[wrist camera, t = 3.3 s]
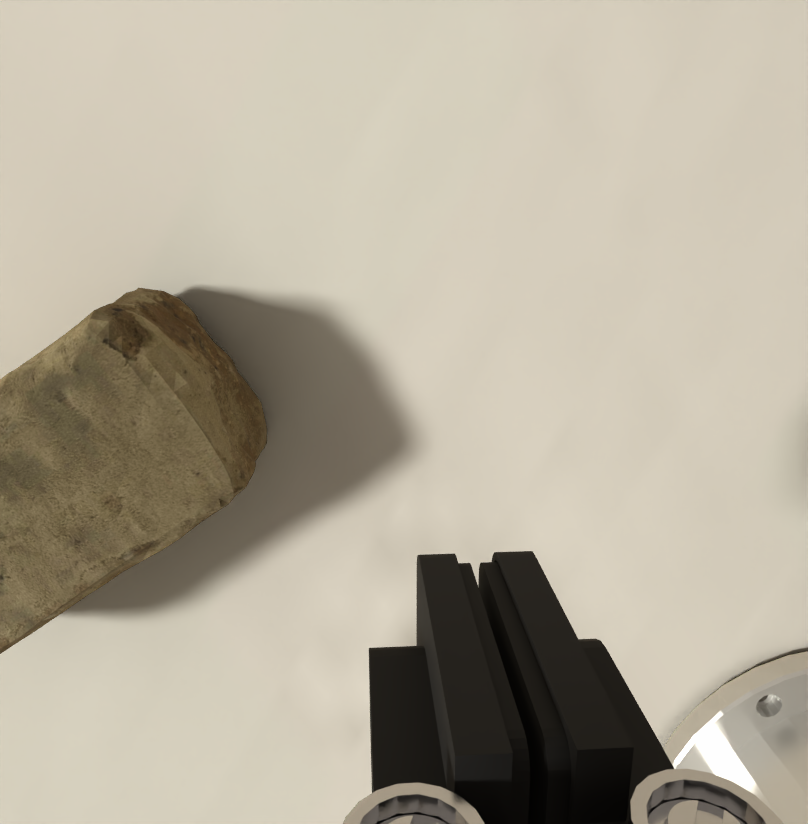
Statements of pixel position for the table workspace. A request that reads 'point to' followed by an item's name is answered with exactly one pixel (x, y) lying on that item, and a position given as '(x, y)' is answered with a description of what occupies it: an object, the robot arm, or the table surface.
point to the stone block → (114, 452)
